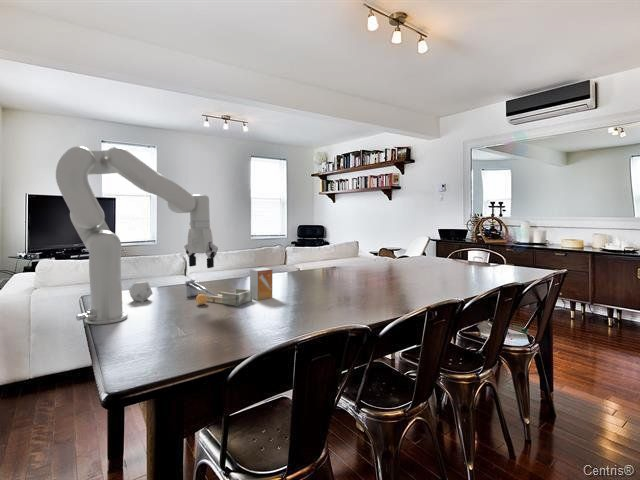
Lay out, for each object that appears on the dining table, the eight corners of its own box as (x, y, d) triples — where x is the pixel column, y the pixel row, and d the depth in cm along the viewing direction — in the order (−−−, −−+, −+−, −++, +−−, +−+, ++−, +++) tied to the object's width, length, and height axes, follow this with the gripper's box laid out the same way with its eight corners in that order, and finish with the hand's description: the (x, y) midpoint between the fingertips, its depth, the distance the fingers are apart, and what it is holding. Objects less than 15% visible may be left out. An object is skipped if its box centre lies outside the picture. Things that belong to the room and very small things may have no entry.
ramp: (211, 299, 156) (210, 284, 156) (185, 296, 163) (185, 281, 162) (218, 297, 160) (218, 282, 160) (193, 294, 167) (193, 279, 167)
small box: (257, 300, 156) (257, 270, 155) (249, 298, 160) (249, 269, 159) (272, 297, 161) (272, 268, 160) (264, 295, 166) (264, 267, 165)
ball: (201, 306, 146) (201, 295, 145) (193, 305, 147) (193, 294, 147) (209, 303, 149) (209, 293, 149) (201, 302, 151) (201, 292, 151)
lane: (237, 305, 147) (237, 294, 146) (204, 300, 155) (204, 290, 154) (251, 300, 155) (251, 290, 155) (219, 296, 163) (219, 286, 163)
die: (129, 305, 148) (144, 286, 148) (120, 292, 153) (134, 274, 153) (146, 308, 156) (160, 290, 156) (137, 296, 160) (150, 278, 160)
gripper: (177, 225, 147) (179, 266, 148) (209, 226, 139) (210, 269, 140) (191, 224, 153) (192, 264, 155) (222, 225, 146) (224, 267, 147)
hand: (201, 266), depth 147 cm, fingers open, 9 cm apart
